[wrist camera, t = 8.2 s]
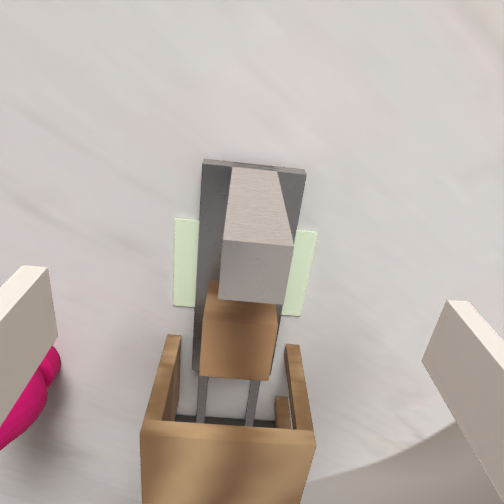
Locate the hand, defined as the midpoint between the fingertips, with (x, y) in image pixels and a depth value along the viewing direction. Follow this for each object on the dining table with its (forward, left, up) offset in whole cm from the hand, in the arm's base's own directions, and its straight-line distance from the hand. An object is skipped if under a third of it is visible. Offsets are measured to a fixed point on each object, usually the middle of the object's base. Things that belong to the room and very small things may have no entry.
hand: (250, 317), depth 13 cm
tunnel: (0, -20, -17) cm, 26 cm away
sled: (0, -8, -16) cm, 18 cm away
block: (0, -11, -15) cm, 18 cm away
